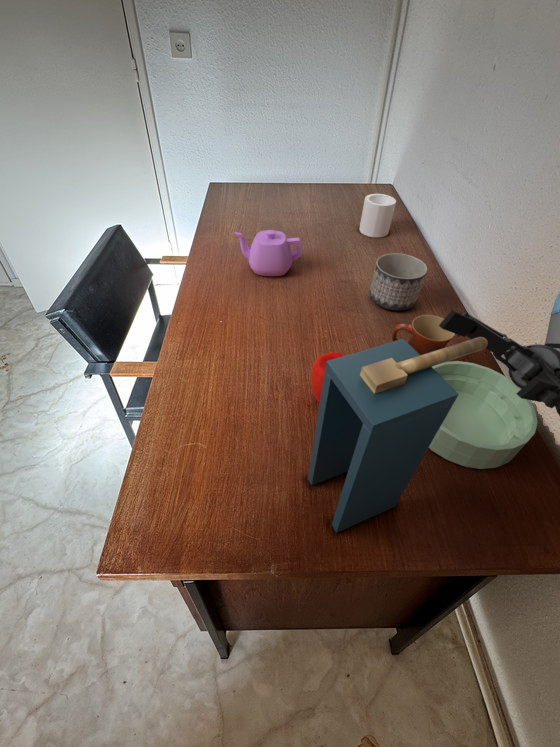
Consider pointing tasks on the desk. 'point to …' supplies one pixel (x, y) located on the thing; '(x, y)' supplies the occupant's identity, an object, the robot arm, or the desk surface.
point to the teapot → (270, 252)
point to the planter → (397, 281)
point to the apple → (321, 372)
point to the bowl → (482, 417)
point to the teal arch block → (375, 431)
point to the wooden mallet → (414, 364)
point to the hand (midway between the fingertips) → (483, 350)
